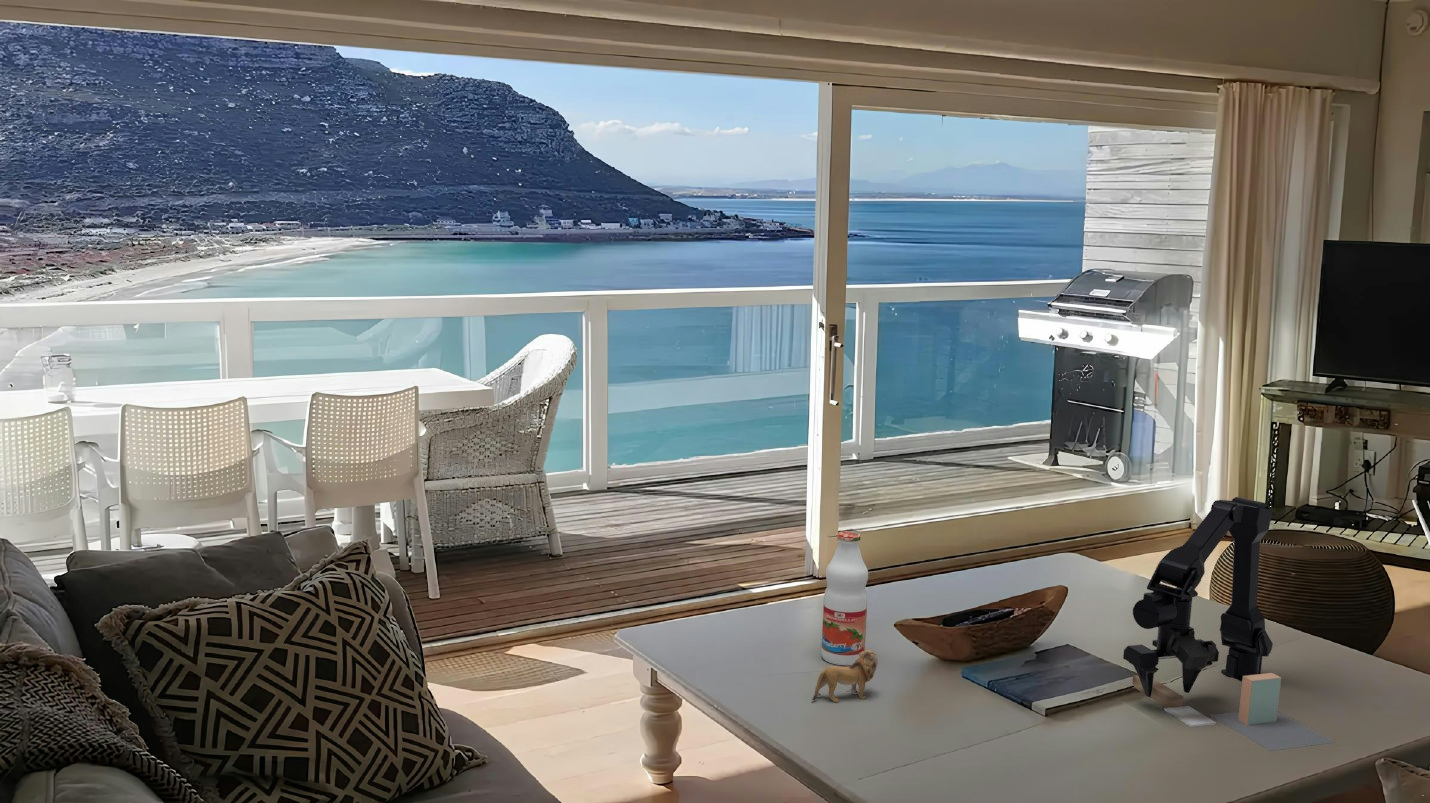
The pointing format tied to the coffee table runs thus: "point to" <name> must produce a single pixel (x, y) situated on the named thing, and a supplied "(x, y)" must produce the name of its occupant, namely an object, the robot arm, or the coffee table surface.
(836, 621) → the fruit juice
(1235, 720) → the mat
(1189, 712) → the spatula
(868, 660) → the lion figurine
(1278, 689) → the tile
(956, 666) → the coffee table surface
